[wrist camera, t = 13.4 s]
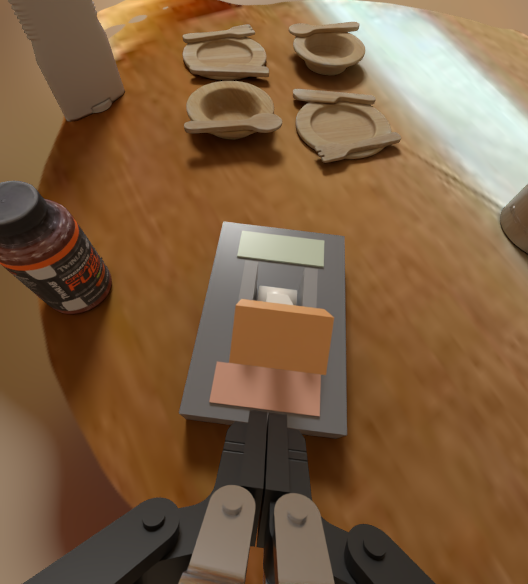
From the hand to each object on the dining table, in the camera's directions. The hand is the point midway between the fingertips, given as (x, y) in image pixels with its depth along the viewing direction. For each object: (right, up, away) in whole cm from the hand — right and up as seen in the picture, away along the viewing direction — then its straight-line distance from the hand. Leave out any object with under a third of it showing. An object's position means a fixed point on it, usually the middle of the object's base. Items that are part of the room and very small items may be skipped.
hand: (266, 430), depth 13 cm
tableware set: (+2, +36, +36) cm, 51 cm away
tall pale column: (-24, +32, +32) cm, 51 cm away
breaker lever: (+1, +5, +14) cm, 15 cm away
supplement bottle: (-18, +6, +18) cm, 26 cm away
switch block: (+1, +2, +17) cm, 17 cm away
